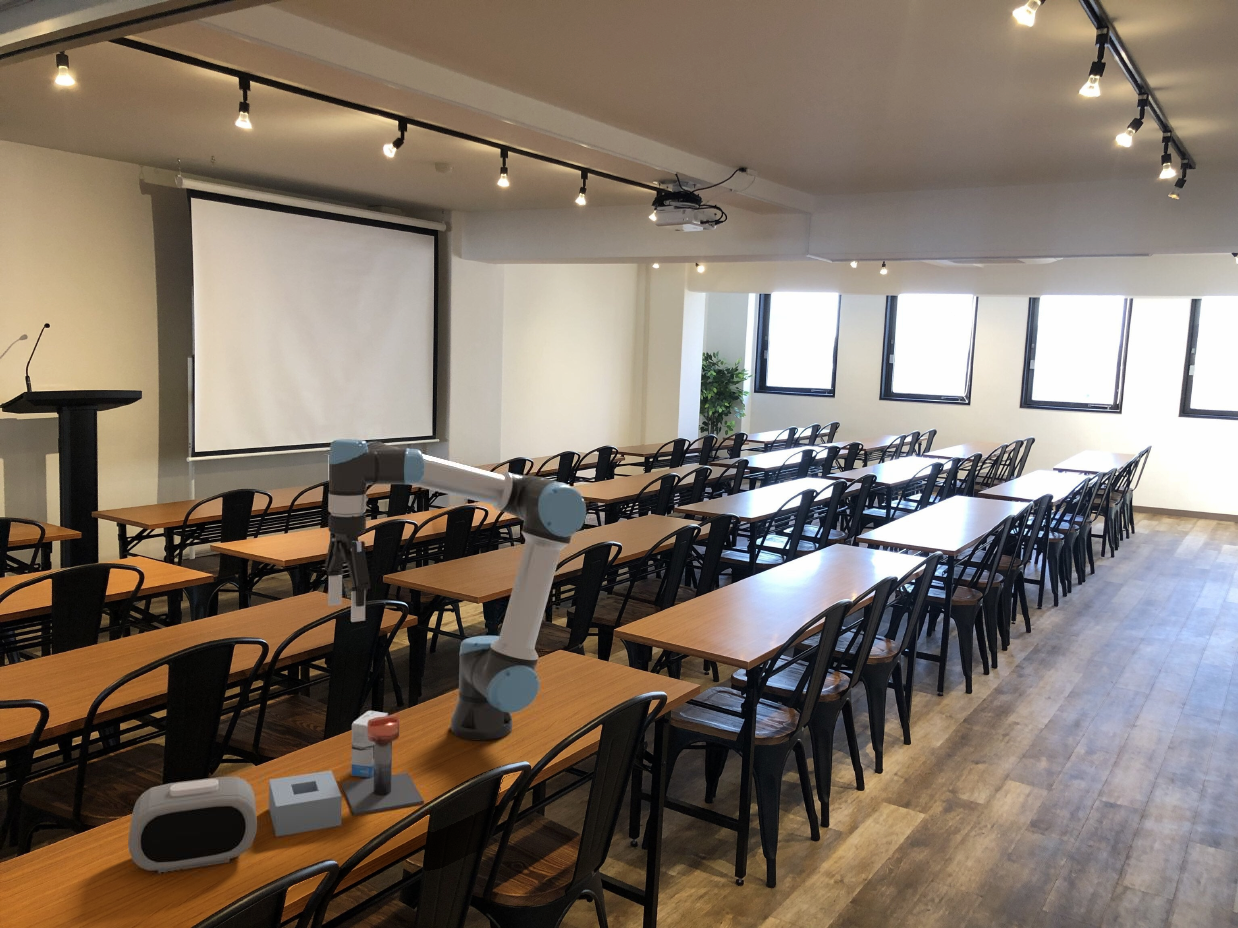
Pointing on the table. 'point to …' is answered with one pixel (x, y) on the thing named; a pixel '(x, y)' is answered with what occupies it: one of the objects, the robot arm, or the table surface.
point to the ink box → (363, 746)
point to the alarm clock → (192, 824)
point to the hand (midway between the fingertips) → (346, 612)
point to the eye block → (304, 803)
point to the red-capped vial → (383, 750)
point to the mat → (368, 802)
